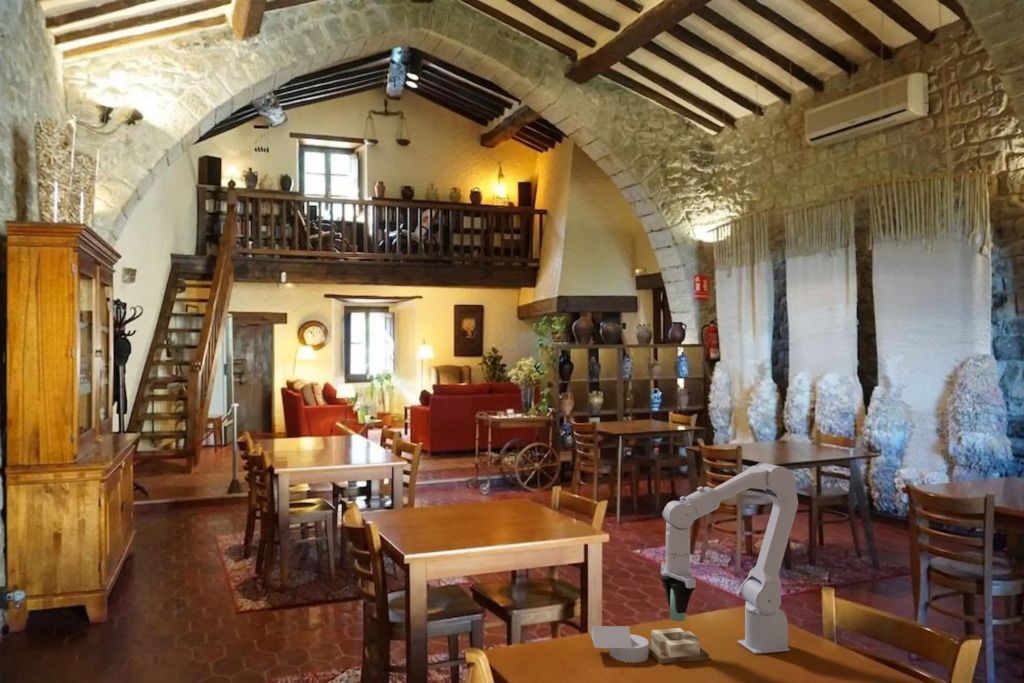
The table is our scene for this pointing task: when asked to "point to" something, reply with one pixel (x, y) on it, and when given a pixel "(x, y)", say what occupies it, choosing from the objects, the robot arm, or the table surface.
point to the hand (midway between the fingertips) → (677, 610)
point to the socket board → (675, 646)
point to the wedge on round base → (621, 643)
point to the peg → (673, 613)
